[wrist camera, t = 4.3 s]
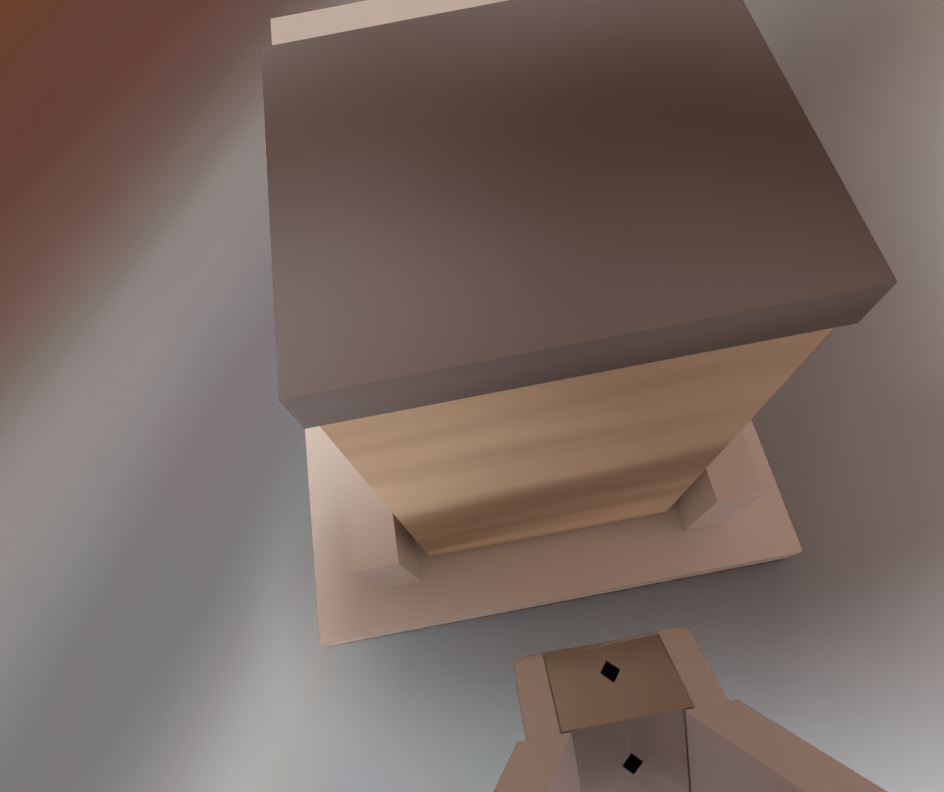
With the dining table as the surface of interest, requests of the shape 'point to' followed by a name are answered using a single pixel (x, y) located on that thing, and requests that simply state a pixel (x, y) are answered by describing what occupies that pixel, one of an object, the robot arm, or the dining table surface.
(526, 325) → the light wood tall block
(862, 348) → the dining table surface
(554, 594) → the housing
